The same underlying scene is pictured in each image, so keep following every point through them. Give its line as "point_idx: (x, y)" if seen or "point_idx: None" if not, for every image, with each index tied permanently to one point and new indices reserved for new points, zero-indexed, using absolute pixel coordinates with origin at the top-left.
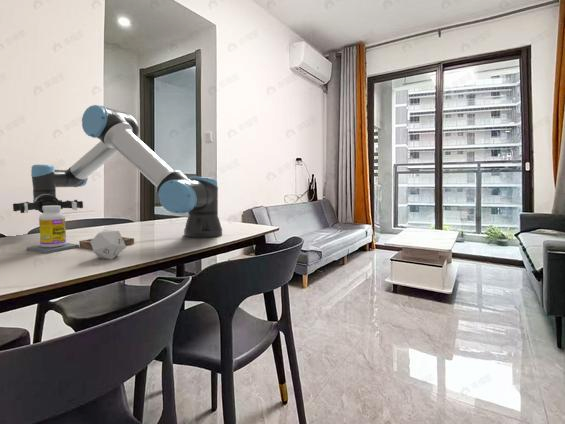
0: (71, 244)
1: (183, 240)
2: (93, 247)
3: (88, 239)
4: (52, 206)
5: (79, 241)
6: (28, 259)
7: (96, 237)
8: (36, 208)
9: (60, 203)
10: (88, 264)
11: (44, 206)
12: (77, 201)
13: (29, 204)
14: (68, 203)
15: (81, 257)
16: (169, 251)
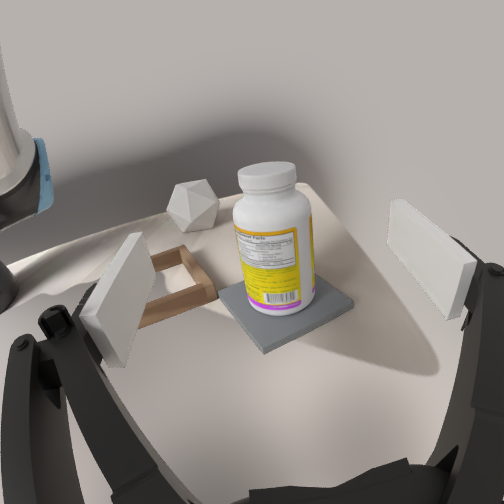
0: (234, 298)
1: (42, 280)
2: (218, 200)
3: (187, 292)
4: (263, 163)
5: (213, 285)
6: (318, 241)
7: (209, 186)
8: (444, 424)
9: (164, 470)
10: (232, 212)
11: (287, 162)
12: (24, 369)
13: (478, 318)
14: (105, 379)
15: (233, 233)
16: (118, 234)
